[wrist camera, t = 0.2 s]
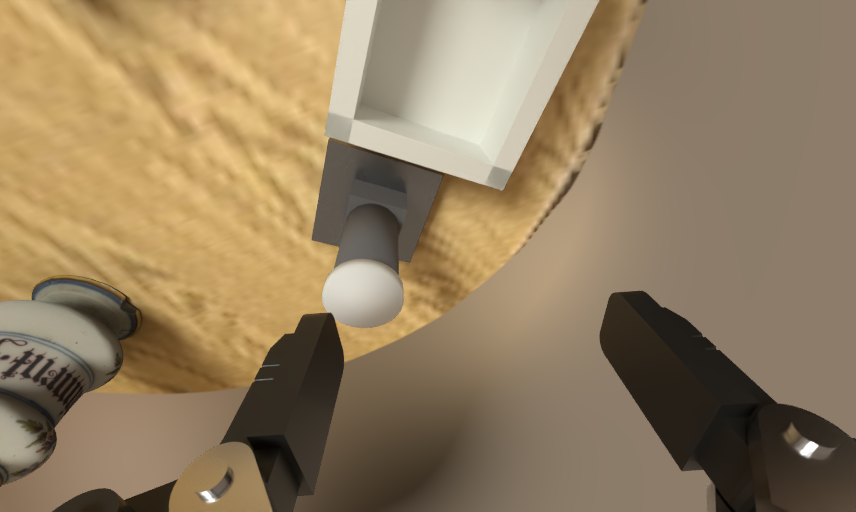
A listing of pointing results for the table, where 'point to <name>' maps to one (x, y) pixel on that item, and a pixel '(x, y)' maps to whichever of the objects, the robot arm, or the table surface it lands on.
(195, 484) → the robot arm
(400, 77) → the bin
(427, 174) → the stud plate
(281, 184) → the table surface
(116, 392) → the table surface
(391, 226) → the knob
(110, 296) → the apothecary jar
